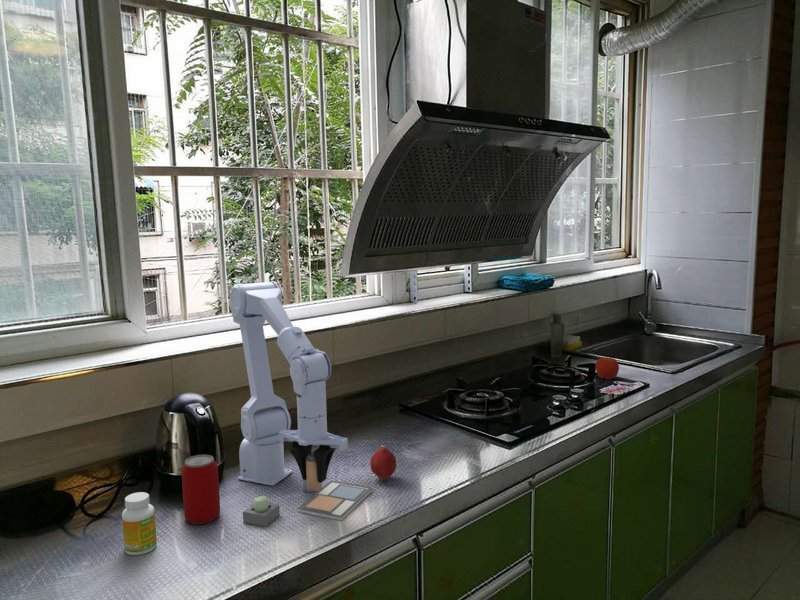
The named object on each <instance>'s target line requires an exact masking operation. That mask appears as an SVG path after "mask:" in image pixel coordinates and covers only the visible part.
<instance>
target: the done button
mask: <svg viewBox="0 0 800 600" xmlns="http://www.w3.org/2000/svg"><path fill="white" fill-rule="evenodd" d="M268 502H269V497H268V496H264V495H261V496H259V495H258V496H256V497H255V498H253V504H254V511H257V512H262V513H264V512H265V511H266V510H267V509H269V507H268Z"/></svg>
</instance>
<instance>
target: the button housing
mask: <svg viewBox="0 0 800 600" xmlns="http://www.w3.org/2000/svg"><path fill="white" fill-rule="evenodd" d="M268 507H269V509H267V510H266V511H265V512H264V513H262V512H257V511H254V503H252V504H251V505H250V506H248V507H247V508H245V509H243V511H242V520H243V521H242V522H243V523H245V524H250V525H255V526H261V527H264V528H266V527H267V526H268V525H269V524H271V523H272V522H273V521H275V520H276V519H277V518H278V517H280V515H281V513H280V503H279V504H278V503H273V502H269V501H268Z"/></svg>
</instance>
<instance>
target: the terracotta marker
mask: <svg viewBox="0 0 800 600" xmlns="http://www.w3.org/2000/svg"><path fill="white" fill-rule="evenodd" d="M306 479H307V490H309V491H313V492H318V491H319V490H320V489H321V488H322V487H323V482H322V483H319V482H318V479H317V465H316V460H315V457H314V454H313V451H311V452H310V453H308V454H307V458H306Z"/></svg>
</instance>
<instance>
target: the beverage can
mask: <svg viewBox="0 0 800 600" xmlns="http://www.w3.org/2000/svg"><path fill="white" fill-rule="evenodd" d="M219 479H220V478H219V466H218V464H217V462H216V461H215V458H214V456H213V455H210V454H196V455H192V456H190V457H188V458H186V459H185V460H184V464H183V466H182V468H181V483H182V484H181V485H182V499H183V500H182V501H183V514H184V519H185V520H186V521H187V522H189V523H192V524H194V525H204V524H205V525H206V524H207V523H211V522H212V521H214V520H215V519H217V517H219V515H220V513H221V501H220V500H221V499H220V482H219Z"/></svg>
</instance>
